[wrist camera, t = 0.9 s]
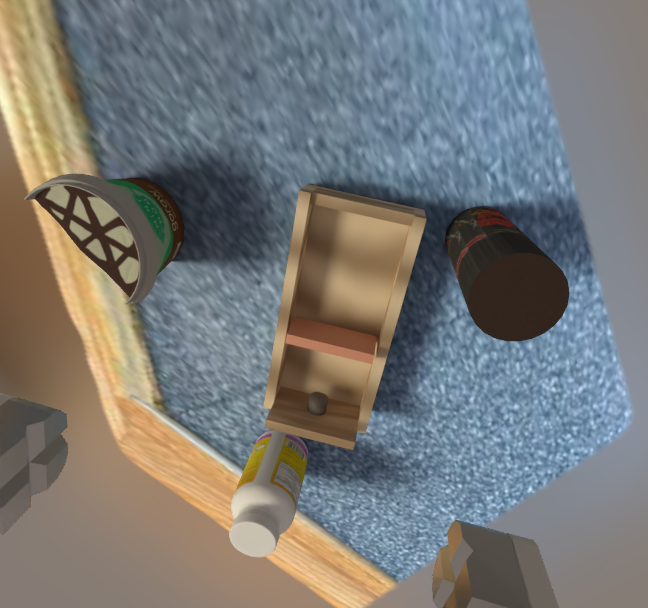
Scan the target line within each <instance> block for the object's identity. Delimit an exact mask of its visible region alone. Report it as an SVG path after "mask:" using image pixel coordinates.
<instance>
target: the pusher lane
mask: <svg viewBox="0 0 648 608" xmlns="http://www.w3.org/2000/svg"><path fill="white" fill-rule="evenodd" d="M426 220H427V218H426V215H425V211H424V210H423V209H418V208H414V207H409V206H405V205H400V204H396V203H391V202H387V201H382V200H378V199H373V198H369V197H364V196H360V195H355V194H351V193H346V192H342V191H337V190H333V189H328V188H324V187H319V186H315V185H310V184H307V185H306V186H305V187H304V188H302V189H301V190H300V191H299V197H298V203H297V209H296V215H295V221H294V227H293V233H292V239H291V245H290V251H289V257H288V263H287V269H286V275H285V281H284V287H283V293H282V299H281V305H280V311H279V317H278V323H277V329H276V335H275V341H274V347H273V353H272V359H271V365H270V371H269V377H268V383H267V389H266V395H265V401H264V408H268V409H271V410H270V412H269V415H268V417H267V419H266V425H265V428H268V429H272V430H276V431H280V432H284V433H288V434H292V435H296V436H299V437H303V438H307V439H311V440H315V441H319V442H323V443H327V444H330V445H334V446H338V447H342V448H346V449H350V450H353V449H354V446H355V441H356V434H357V431H358V432H362V433H365V432H366V428H367V425H368V422H369V418H370V415H371V411H372V408H373V404H374V401H375V397H376V394H377V390H378V387H379V383H380V380H381V376H382V373H383V369H384V366H385V362H386V359H387V355H388V352H389V348H390V345H391V341H392V338H393V335H394V331H395V328H396V324H397V321H398V317H399V314H400V310H401V307H402V303H403V300H404V296H405V293H406V289H407V286H408V282H409V279H410V275H411V272H412V268H413V265H414V261H415V258H416V255H417V251H418V248H419V244H420V241H421V237H422V234H423V230H424V227H425V223H426ZM295 317H299V318H303V319H308V320H312V321H316V322H320V323H324V324H328V325H333V326H337V327H341V328H345V329H349V330H353V331H357V332H362V333H366V334H370V335H374V336H376V346H375V356H374V359H373V363H372V364H369V363H364V362H360V361H356V360H352V359H348V358H344V357H340V356H336V355H332V354H328V353H324V352H319V351H315V350H311V349H307V348H303V347H299V346H295V345H291V344H287V343H286V337H287V333H288V331H289V329H290V327H291V325H292V323H293V321H294V319H295Z"/></svg>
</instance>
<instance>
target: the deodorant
mask: <svg viewBox="0 0 648 608" xmlns="http://www.w3.org/2000/svg"><path fill="white" fill-rule="evenodd" d="M445 244H446V248H447V252H448V255H449V258H450V260H451V263H452V266H453V269H454V271H455V274H456V277H457V279H458V282H459V285H460V288H461V290H462V293H463V296H464V299H465V301H466V304H467V307H468V310H469V312H470V315H471V317H472V319H473V320H474V322H475V324H476V325H477V326H478V327H479V328H480V329H481V330H482V331H483V332H484V333H486V334H488V335H490V336H492V337H493V338H496V339H500V340H504V341H523V340H528V339H532V338H535V337H537V336H539V335H541V334H543V333H545V332H546V331H548V330H549V329H550V328H552V327H553V326H554V325H555V324H556V323H557V322H558V321H559V319H560V318H561V317H562V316H563V313H564V311H565V309H566V307H567V305H568V299H569V287H568V281H567V279H566V277H565V275H564V273H563V271H562V270H561V269H560V268H559V267H558V266H557V265H556V264H555V263H554V262H553V261H552V260H551V259H550V258H549V257H548V256H547V255H546V254H545V253H544V252H543V251H542V250H540V249H539V248H538V247H537V246H536V245H535V244H534V243H533V242H532V241H531V240H530V239H529V238H528V237H527V236H526V235H524V234H523V233H522V232H521V231H520V230H519V229H518V228H517V227H516V226H515V225H514V224H513V223H512V222H511V221H510V220H509V219H507V218H506V217H505V216H504V215H503V214H502V213H501V212H499V211H497V210H496V209H494V208H490V207H485V206H483V207H474V208H470V209H467V210H465V211H464V212H462V213H460V214H459V215H458V216H457V217H456V218H454V219H453V221H452V222H451V224H450V225H449V227H448V230H447V233H446V239H445Z"/></svg>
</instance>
